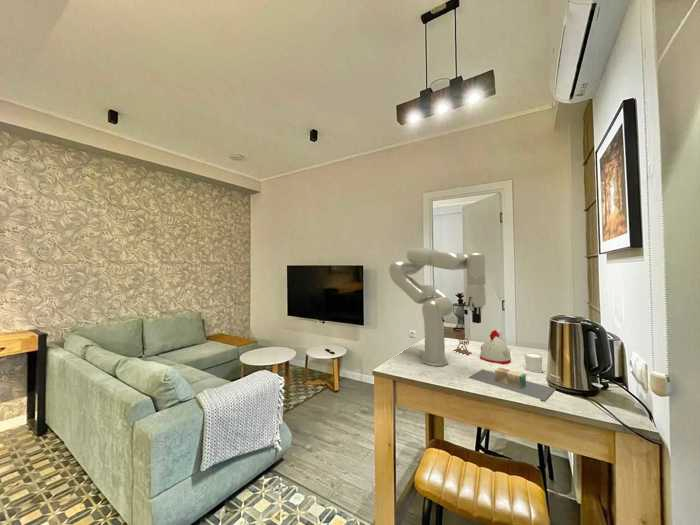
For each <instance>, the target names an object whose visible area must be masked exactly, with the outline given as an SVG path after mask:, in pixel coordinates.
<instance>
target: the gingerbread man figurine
mask: <svg viewBox="0 0 700 525" xmlns="http://www.w3.org/2000/svg"><path fill="white" fill-rule="evenodd" d="M454 335H455V338H456V339H457V340H458V341H459V344H458V346H457V347H456V348H455V349H453V352H454V351H456V352H455V353H457V352H459V353H458V354H460V353H462V354H461V355H464V354H466V355H465V356H470V355H469V354H471V355H473V354H472V352H471V351H469V350H468V348H467V346H468V345H469V344H470V341H469V339H467V338H466V333H465V331H464V330H460V331H459V332H456V333H455V334H454ZM464 339H465V340H464ZM460 345H461V347H460Z"/></svg>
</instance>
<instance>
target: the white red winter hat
mask: <svg viewBox="0 0 700 525" xmlns="http://www.w3.org/2000/svg"><path fill="white" fill-rule="evenodd" d="M479 354H480V355H479V358H480V360H481V361H484V362H487V363H492V364H498V365H503V366H505V365H509V364H511V362H512V361H511V360H512V357H511V350H510V348H509V347H508V346H507V344H506V343H505V341H503V339H501V338H500V333H499V332H498V331H497V329H494V330H492V331H491V332H490V334H489V337H488V338H487V339H486V340H485V341H484V343H483V344H481V345H480V353H479Z"/></svg>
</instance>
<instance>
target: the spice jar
mask: <svg viewBox="0 0 700 525" xmlns="http://www.w3.org/2000/svg"><path fill="white" fill-rule="evenodd" d="M494 372H495V381H497V382H501V383H504V384H508V385H511V386H515V387H518V388H523V387H524V386H526V381H527V378H526V377H527V376H526V374H527V373H524V372H519V371H516V370H512V369H511V370H510V369H509V368H504V367H500V366H499V367H498V368H496V369H494Z"/></svg>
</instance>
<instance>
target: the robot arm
mask: <svg viewBox="0 0 700 525" xmlns="http://www.w3.org/2000/svg"><path fill="white" fill-rule="evenodd" d="M485 257H486V256H485V253H481V252H470V253H464V252H463V253H462V252H461V253H460V252H455V253H454V252H445V251H443V252H442V251H438V250H437V249H434V248H426V247H412V248H410V249H408V251H407V252H406V259H403V260H401V259H400V260H395V261H392V262H391V263H390V265H389V270H388V272H389V276H390V279H391V281H392V282H393V283H394V284H395V285H396V286H397V287H398V288H399V289H401V290H402V291H403V292H404V293H405V294H406V295H407V296H408V297H409V298H410V299H411V300H412V301H413V302H414V303H416V304H419V305H421V304H422V307H421V310H422V311H421V312H422V317H423V323H424V324H423V325H424V329H423V330H424V349H423V350H422V349H420V350H419V352H418V355H420V356H422V358H421V362H422V363H423V364H424V363H425V364H424V365H427V366H431V367H444V366H447V365H448V364H449V360H448V359H447V358H446V356H445V355H446V351H445V349H446V348H445V347H446V345H445V324H444V321H443V318H444V317H447V316H450V314H452V313H453V311H454V304H453V302H452V301H451V299H450V298H448V296H446V295H445V294H444V293H443V292H441V290H439V288H437V287H435V286H433V285H431V284H420V283H418V282H417V281H416V280H415V279H414V278H413V277H411V276H412V275H416V274H417V273H418V272H419V271H421V270H422V269H423V268H424V267H425V266H427V267H428V266H429V267H433V268H437V269H443V270H449V271H450V270H451V271H453V270H455V271H456V270H466V286H465V287H466V289H465V302H464V303H465V306H466V307H467V308H468V307H469V311H470V312H471V320H472V322H471V323H473V324H480V323H482V311H483V310H482V309H483V308H484V306H485V305H486V302H487V301H486V287H485V285H486V258H485ZM442 317H443V318H442Z"/></svg>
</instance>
